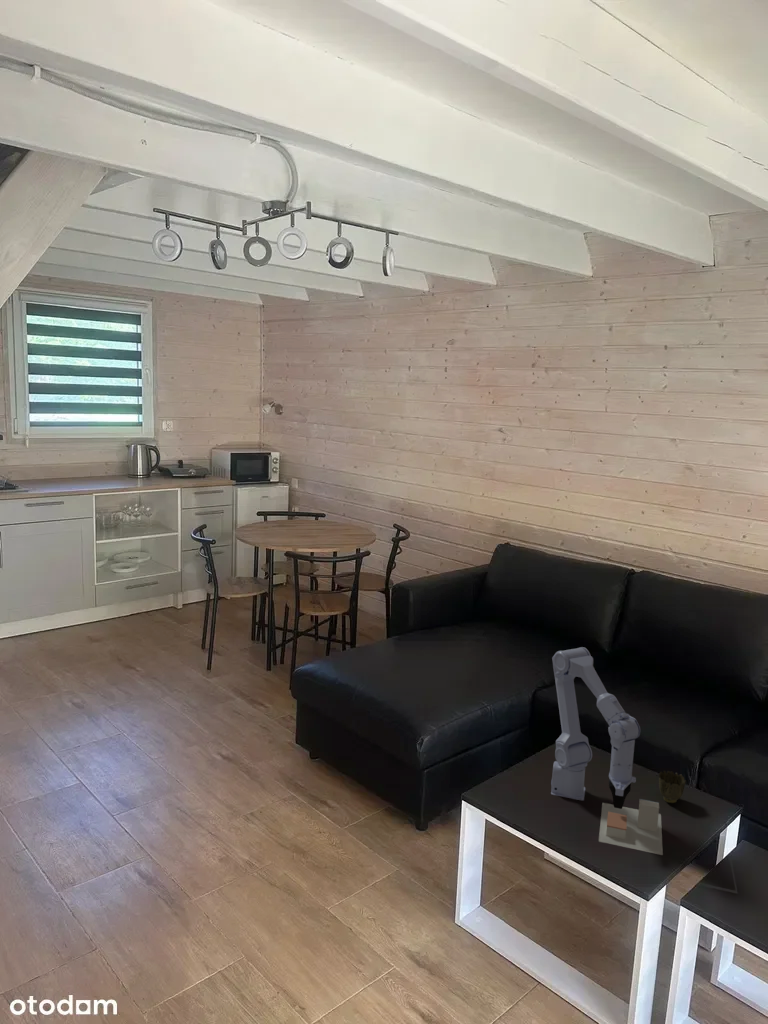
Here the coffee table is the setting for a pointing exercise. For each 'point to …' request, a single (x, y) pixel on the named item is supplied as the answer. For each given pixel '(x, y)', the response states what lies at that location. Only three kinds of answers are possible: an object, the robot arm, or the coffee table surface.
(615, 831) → the slab
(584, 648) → the robot arm
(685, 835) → the coffee table surface
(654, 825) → the slab
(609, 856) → the coffee table surface
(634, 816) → the mat
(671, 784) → the cup
